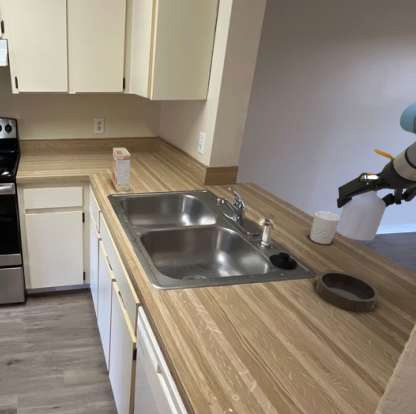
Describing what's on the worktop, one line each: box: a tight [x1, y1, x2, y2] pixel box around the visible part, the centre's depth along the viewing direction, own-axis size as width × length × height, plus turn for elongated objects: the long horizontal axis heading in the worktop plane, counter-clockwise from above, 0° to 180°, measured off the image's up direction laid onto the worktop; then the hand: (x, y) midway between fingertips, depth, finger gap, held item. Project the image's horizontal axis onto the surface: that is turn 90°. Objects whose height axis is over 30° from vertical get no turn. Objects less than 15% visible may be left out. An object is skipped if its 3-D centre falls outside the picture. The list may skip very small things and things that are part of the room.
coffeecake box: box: [112, 147, 131, 192], centre depth 175 cm, size 15×7×20 cm, turn 6°
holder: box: [315, 271, 379, 313], centre depth 93 cm, size 14×14×4 cm
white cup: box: [309, 210, 340, 245], centre depth 122 cm, size 8×8×10 cm
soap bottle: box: [336, 148, 395, 242], centre depth 91 cm, size 9×9×25 cm
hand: (357, 205), depth 96 cm, fingers closed on soap bottle, 9 cm apart
